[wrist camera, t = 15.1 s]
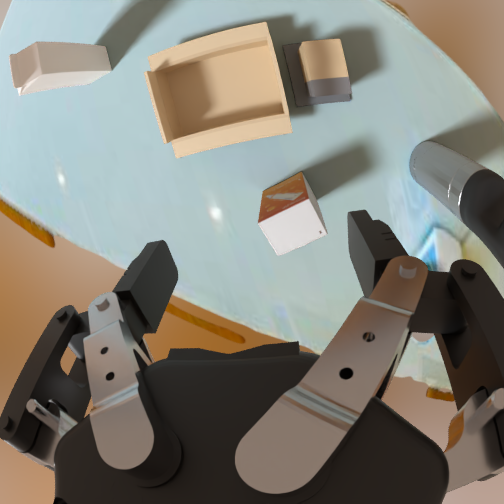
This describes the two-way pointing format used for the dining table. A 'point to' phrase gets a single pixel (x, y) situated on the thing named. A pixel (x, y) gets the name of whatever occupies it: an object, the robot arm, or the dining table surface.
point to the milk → (57, 66)
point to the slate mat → (299, 82)
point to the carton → (218, 90)
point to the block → (324, 68)
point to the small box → (291, 215)
